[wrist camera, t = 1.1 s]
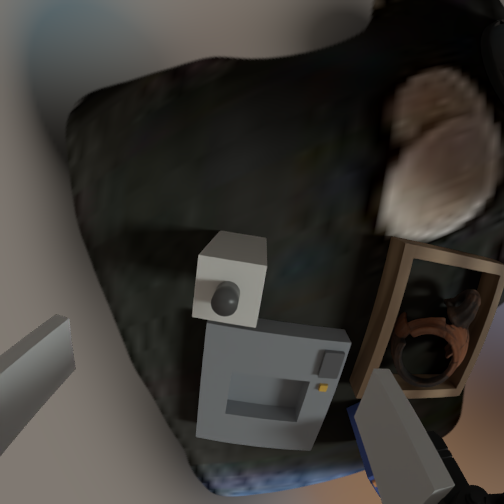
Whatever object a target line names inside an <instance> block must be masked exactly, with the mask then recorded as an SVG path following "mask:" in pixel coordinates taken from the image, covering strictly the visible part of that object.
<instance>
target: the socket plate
mask: <svg viewBox="0 0 504 504" xmlns="http://www.w3.org/2000/svg"><path fill="white" fill-rule="evenodd" d="M350 346H351V341H350V339H349V337H348V335H347V333H346V331H345V329H336V328H327V327H319V326H311V325H303V324H296V323H289V322H282V321H275V320H268V319H261V318H258V320H257V325H256V328H254V327H247V326H241V325H235V324H229V323H223V322H217V321H212V320H208V321H207V325H206V334H205V343H204V353H203V363H202V373H201V383H200V394H199V405H198V417H197V429H196V437H199V438H204V439H210V440H215V441H221V442H227V443H234V444H241V445H249V446H257V447H267V448H277V449H291V450H309V451H311V449H312V446H313V444H314V442H315V440H316V437H317V435H318V433H319V430H320V428H321V425H322V423H323V421H324V418H325V416H326V413H327V411H328V408H329V405H330V403H331V400H332V398H333V395H334V392H335V390H336V387H337V384H338V381H339V379H340V376H341V373H342V370H343V367H344V364H345V361H346V358H347V355H348V352H349V349H350Z"/></svg>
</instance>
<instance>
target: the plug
mask: <svg viewBox="0 0 504 504" xmlns="http://www.w3.org/2000/svg"><path fill="white" fill-rule="evenodd" d="M266 269H267V245H266V238H264V237H257V236H251V235H245V234H239V233H232V232H226V231H219V232H218V234H217V235H216V236H215V237H214V238H213V239H212V240H211V241H210V242H209V244H208V245H207V246H206V247H205V248H204V249H203V250H202V251H201V253H200V254H199V255H198V264H197V273H196V282H195V292H194V302H193V312H192V317H195V318H201V319H206V320H212V321H217V322H223V323H229V324H235V325H241V326H247V327H254V328H256V325H257V320H258V314H259V309H260V303H261V297H262V292H263V286H264V281H265V275H266Z"/></svg>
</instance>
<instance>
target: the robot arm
mask: <svg viewBox="0 0 504 504" xmlns="http://www.w3.org/2000/svg"><path fill="white" fill-rule="evenodd" d="M480 46H481V55H482V59H483V63H484V67H485V70H486V73H487V75H488V78H489V80H490V82H491V84H492V86H493V88H494V90H495V92H496V94H497V96H498V97H499V99H500V100H501V102H502V103H503V105H504V19H503V20H498V21H495V22H494V23H492V24H490V25H489V26H487V27H486V28H485V29H484V30H483V32H482V35H481V42H480ZM70 331H71V330H70V321H69V318H67V317H63V316H60V315H57V314H56V315H54V316H53V317H51V318H50V319H49V320H47V321H46V322H45V323H43V324H42V325H40V326H39V327H38V328H36V329H35V330H34V331H32V332H31V333H30V334H28V335H27V336H26V337H24V338H23V339H22V340H20V341H19V342H18V343H16V344H15V345H14V346H12V347H11V348H10V349H9V350H7V351H6V352H5V353H3V354H2V355H1V356H0V456H1V455H2V454H3V452H4V451H5V450H6V449H7V447H8V446H9V445H10V444H11V443H12V441H13V440H14V439H15V438H16V437H17V435H18V434H19V433H20V432H21V431H22V429H23V428H24V427H25V426H26V425H27V424H28V422H29V421H30V420H31V419H32V418H33V417H34V415H35V414H36V413H37V412H38V411H39V409H40V408H41V407H42V406H43V405H44V404H45V403H46V401H47V400H48V399H49V398H50V397H51V396H52V395H53V394H54V392H55V391H56V390H57V389H58V388H59V387H60V386H61V384H63V382H64V381H65V380H66V379H67V378H68V377H69V376H70V375H71V373H72V372H73V371H74V370H75V369H76V367H75V361H74V354H73V348H72V339H71V332H70ZM354 418H355V421H356V424H357V427H358V430H359V433H360V436H361V439H362V442H363V445H364V448H365V451H366V454H367V457H368V460H369V463H370V466H371V469H372V472H373V475H374V478H375V482H376V485H377V488H378V491H379V494H380V498H381V501H382V504H504V493H502V494H487V492H486V491H485V490H484V489H483V488H481V487H479V486H476V485H469V484H468V483H467V481H466V479H465V477H464V475H463V473H462V472H461V470H460V468H459V466H458V465H457V463H456V461H455V460H454V458H452V454H451V453H450V451H449V450H448V447H447V446H446V444H445V442H444V441H443V439H442V438H441V437H440V436H439V435H438V434H436V433H435V432H434V431H427V432H426V430H425V429H424V427H423V425H422V423H421V422H420V420H419V418H418V416H417V415H416V413H415V411H414V410H413V408H412V406H411V404H410V403H409V401H408V399H407V398H406V396H405V394H404V393H403V391H402V389H401V388H400V386H399V384H398V383H397V381H396V379H395V378H394V376H393V374H392V373H391V371H390V369H373V372H372V374H371V377H370V380H369V382H368V385H367V387H366V390H365V392H364V395H363V397H362V399H361V402H360V404H359V406H358V409H357V411H356V413H355V416H354Z"/></svg>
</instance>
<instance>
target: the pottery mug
mask: <svg viewBox="0 0 504 504" xmlns="http://www.w3.org/2000/svg"><path fill="white" fill-rule="evenodd" d="M444 303H445V304H446V306H447V314H448V318H449V320H450V322H451V323H452V325H447V324H446V318H444V317H428V318H421V319H416V320H413V321H410V322H408V321H407V313H406V312H403V313H402V314H401V315H400V316H399V317H398V318H397V319H396V322H395V325H394V330H393V331H392V334H391V355H392V358H393V361H394V365H395V368H396V369H397V372H398V374H399V376H401V378H402V379H403V380H404V381H406V382H407V383H409V384H411V385H413V386H418V387H425V388H427V387H433V386H436V385H439V384H441V383H443V382H444V381H445V380H447V379H448V378H449V377H450V376H451V375H452V374H453V372H454V371H455V369H456V368H457V367H458V366H459V365H460V364H461V362H462V361H463V359H464V357H465V355H466V352H467V349H468V343H469V330H468V327H469V325H470V323H471V322H472V321H473V319H474V318H475V316H476V313H477V311H478V309H479V306H480V304H481V298H480V295H479V293H478V291H476V290H475V289H467V290H464V291H463V292H461V293H460V294H458V295H457V296H456V297H454V298H450V299H444ZM409 334H411V335H412V337H417V336H420V335H424V334H433V335H437V336H440V337H442V338H444V339H445V340H446V341H447V342H448V344H447V345H446V346H445V347H444V349H445V352H446V355H445V357H446V358H449V357H450V356H451V355H453V358H452V361H451V364H450V365H449V367H448V368H447V369H446V370H445V371H444V372H443V373H442V374H440V375H438V376H435V377H431V378H421V377H417V376H415V375H412V374H411V373H410V372H408V371H407V370H406V368H405V367H404V365H403V362H402V351H403V349H404V347H405V345H406V341H405V338H406V337H407V336H408V335H409Z"/></svg>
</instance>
